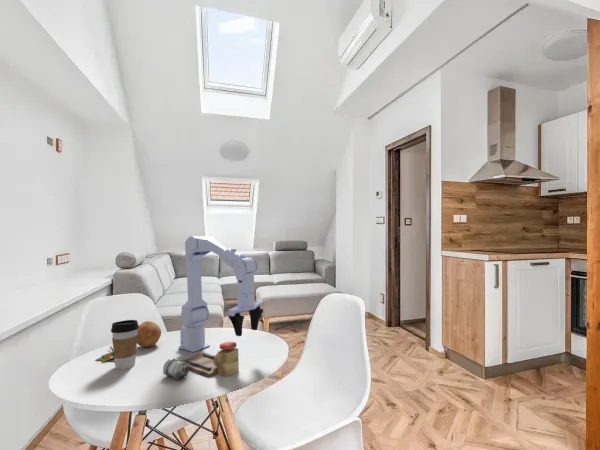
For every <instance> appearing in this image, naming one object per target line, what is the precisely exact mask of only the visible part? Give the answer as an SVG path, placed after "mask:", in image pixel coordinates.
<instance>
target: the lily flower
mask: <svg viewBox="0 0 600 450" xmlns="http://www.w3.org/2000/svg"><path fill="white" fill-rule="evenodd" d="M108 348H109V350H107V351H106V352H108V353H104V354H103V355H102V356H101V357H98V358H96V361H101V363H105V362H106V361H110V362H114V363H115V359H114V350H113V345H110V346H109V347H108ZM112 357H113V358H112Z"/></svg>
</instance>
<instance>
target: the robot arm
mask: <svg viewBox="0 0 600 450" xmlns="http://www.w3.org/2000/svg"><path fill="white" fill-rule="evenodd" d="M216 239H217V238H216V237H213V236H212V235H204V236H203V235H201V236H199V235H197V236H196V235H190V236H188V237H187V238H186V240H185V241H184V253H185V254H184V255H185V258H186V260H185V261H186V284H187V287H186V288H187V301H186V302H185V303H183V305H182V306H181V313H180V315H179V317H180V322H181V324H182V326H181V329H180V337H179V338H180V340H179V341H180V346H178V348H179V349H182V350H185V351H188V352H191V353H195V352H198V351H200V350H204V349H205V348H208V347H210V346H211V345H210V344H208V343H206V331H205V330H206V327H205V326H206V324H207V321H208V319H209V317H210V310H209V307H208V302H207V301H205V300H204V299H203V287H202V272H201V271H202V269H201V268H202V267H201V266H202V265H201V262H202V261H201V260H202V259H203V258H204V257H205V256H206V255H207V254H209V253H211V252H212V253H213V254H216V255H217V256H219V257H221V260H222V262H223V263H224V264H226V265H227V266H229V267H231V268H232V270H233V272H234V275H235V279H236V282H237V284H236V285H237V305H236V306H234V307H232V308H229V309H228V316H227V317H228V319H229V320H230V322H231V324H232V327H233V329H234V334H235V336H236V337H242V334H243V323H244V319H245V316H244V315H241V314H243V313H246V312H248V315H249V317H250V328H251V330H253V331H257V330H258V327H259V323H260V319H261V317H262V314H263V312H264V308H263V301H255V273H256V271H257V270H258V263H257V260H256V259H255V258H254V257H253V256H248V257H247V256H246V255H245V254H244V253H240V252H239V251H237V248H234V247H232V248H227V247H225V246H224V245H223V244H222V243H220V242H218V241H217V240H216Z"/></svg>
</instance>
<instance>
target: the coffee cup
mask: <svg viewBox="0 0 600 450" xmlns="http://www.w3.org/2000/svg"><path fill="white" fill-rule="evenodd" d="M139 325H140V324H139V321H138V320H137V319H125V320H121V321H120V320H119V321H115V322H112V323H111V329H110V333H112V338H111V340H112V348H113V351H114V357H113V359H114V360H115V362H114V367H115V369H116V370H126V369H129V368H132V367H134V366H135V365H136V357H137V356H136V355H137V347H138V346H137V345H138V344H137V338H138V334H137V330H138V328H139Z"/></svg>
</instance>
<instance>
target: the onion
mask: <svg viewBox="0 0 600 450" xmlns="http://www.w3.org/2000/svg"><path fill="white" fill-rule="evenodd" d="M138 325H139V328H138V330H137V334H138V338H137V345H138V346H140V347H142V348H148V347H153V346H155V345H156V344H157V343H158V342H159V340H160V338H161V336H162V329H161V327H160V326H159V324H157V323H156V322H154V321H150V320H148V321H143V322H142V323H140V324H138Z"/></svg>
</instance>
